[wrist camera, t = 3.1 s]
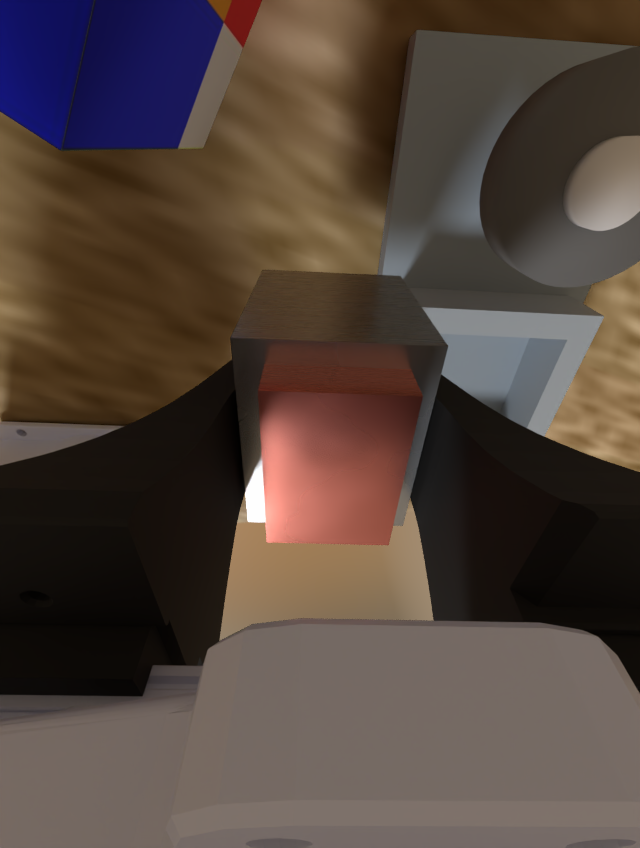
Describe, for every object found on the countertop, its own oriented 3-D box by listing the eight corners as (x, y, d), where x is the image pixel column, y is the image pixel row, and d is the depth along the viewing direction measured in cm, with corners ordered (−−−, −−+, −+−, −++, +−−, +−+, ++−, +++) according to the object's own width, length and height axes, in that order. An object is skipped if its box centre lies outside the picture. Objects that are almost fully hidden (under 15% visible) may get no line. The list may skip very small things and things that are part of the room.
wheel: (459, 269, 13) (481, 288, 11) (514, 51, 10) (557, 30, 8) (612, 277, 13) (658, 297, 11) (715, 65, 10) (800, 48, 8)
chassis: (355, 439, 23) (361, 483, 20) (409, 38, 13) (437, 5, 10) (504, 444, 23) (532, 489, 20) (670, 58, 13) (774, 31, 10)
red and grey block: (268, 413, 14) (241, 555, 9) (262, 270, 11) (218, 362, 6) (378, 417, 14) (410, 559, 9) (400, 275, 11) (465, 371, 6)
